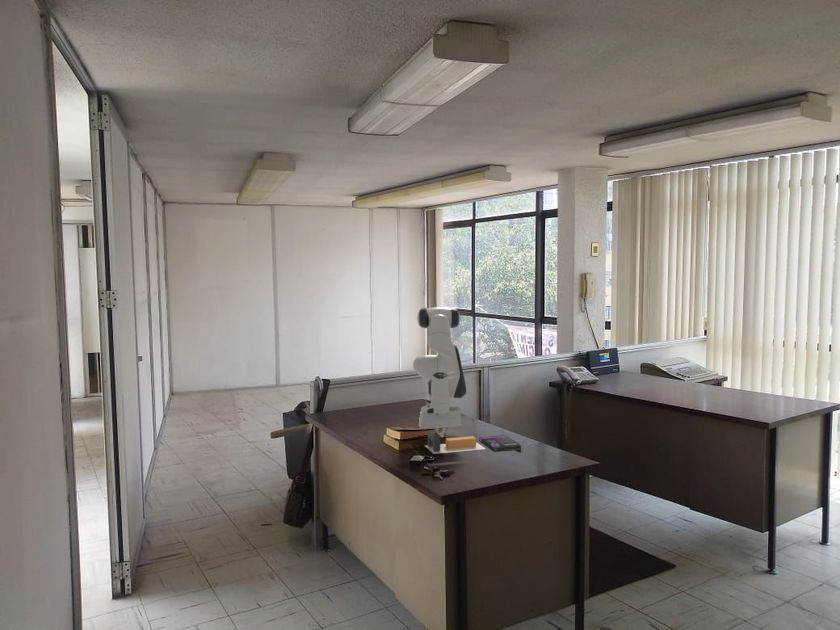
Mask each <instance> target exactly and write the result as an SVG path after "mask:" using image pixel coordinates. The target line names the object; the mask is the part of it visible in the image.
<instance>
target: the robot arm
mask: <svg viewBox="0 0 840 630" xmlns="http://www.w3.org/2000/svg"><path fill="white" fill-rule="evenodd" d="M417 323H418V325H419V326H420V327H421V328H423V329H427V332H426V333H427V338H426V339H427V340H426V342H427V343H426V344H427V347H428V349H430V350H431V351H432V352H434V353H436V354H422V355H418V356H416V357H415V358H414V360H413V364H412V365H413V366H412V367H413V370H414V371H415V373H417V374H418V375H419V376H420V377H421V378H422V379H423V381H424V383H425V386H426V387H425V389H426V400H425V405H424V406H421V408H420V412H419V417H418V418H419V421H418V427H419V428H420V429H421V430H429V429H431V430H432V429H434V431H435V432H436V433H438V434H439V435H440V438H444V435H445V432H446V430H447V428H453V427H454V428H455V427H461V425H462V418H461V416H462V410H461V408H460V407H459V406H450V398H452V399H462V398H463V397H465V395H466V394H467V391H468V385H467V382H466V380H465V375H464V372H463V371H464V370H463V365H462V361H461V355H460V351H459V348H458V346H457V345H455V344H454V343H453V341H452V337H451V334H452V333H451V329H455V328H457V327H458V326H459V325H460V323H461V314H460V312H459V310H458V308H455V307H446V306H445V307H444V306H439V307H428V308H427V307H423V308H421V309H419V312H418V313H417ZM453 374H454V377H449V375H453ZM440 429H441V432H439V430H440Z"/></svg>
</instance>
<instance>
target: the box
mask: <svg viewBox="0 0 840 630" xmlns="http://www.w3.org/2000/svg"><path fill="white" fill-rule="evenodd" d="M478 441H479V442H480V443H482V444H483V445H485V446H486V447H488V448H489V449H491V450H492V451H493V452H499V451H501V452H502V451H510V450H514V451H516V452H521V451H522V445H521V444H520V443H518V442H516V441H515V440H513V439H512V438H510V437H509V436H507V435H505V434H502V435H493V436H482V437H479V438H478Z"/></svg>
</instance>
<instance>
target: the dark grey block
mask: <svg viewBox="0 0 840 630" xmlns="http://www.w3.org/2000/svg"><path fill="white" fill-rule="evenodd" d="M440 444H441V437H440V435H439V434H438V433H436V431H435V430H428V431H427V445H428V447H433V451H434V452H435V451H440Z"/></svg>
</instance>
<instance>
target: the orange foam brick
mask: <svg viewBox="0 0 840 630" xmlns="http://www.w3.org/2000/svg"><path fill="white" fill-rule="evenodd" d="M476 442H477V438H476V437H475V436H473V435H472V436H460V437H458V436H457V437H449V438H445V444H446V448H448V449H455V448H466V447H476Z"/></svg>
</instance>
